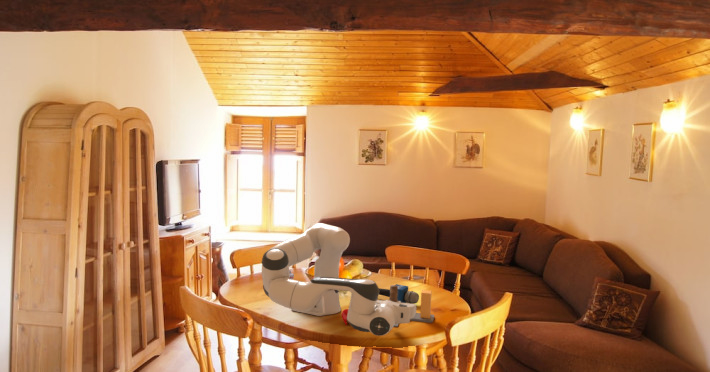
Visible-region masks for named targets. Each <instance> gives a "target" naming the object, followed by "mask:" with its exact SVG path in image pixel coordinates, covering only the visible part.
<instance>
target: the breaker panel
mask: <svg viewBox="0 0 710 372" xmlns="http://www.w3.org/2000/svg"><path fill="white" fill-rule="evenodd" d="M420 313H421V312H420ZM420 313H419V312H416V314H415V316H414V317H413V318H412V319H410V321H412V322H422V323H429V324H433V323H434V319H435V314H431V315H430V319H429V318H421V317H420Z"/></svg>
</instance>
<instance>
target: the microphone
mask: <svg viewBox="0 0 710 372" xmlns="http://www.w3.org/2000/svg"><path fill="white" fill-rule="evenodd" d="M395 285H396V286H398V290H397V301H401V303H409V304H415V305H416V304H417V303H418V302H419V300H420V295H419V294H418V292H415V291H413V290H411V291H410V290H409V286H408V285H402V284H395ZM378 288H379V287H378ZM379 290H380V292H379V296H383V297H388V298H389V299H388V300H390V288H388V289H387V288H379Z"/></svg>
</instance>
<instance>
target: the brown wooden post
mask: <svg viewBox="0 0 710 372" xmlns="http://www.w3.org/2000/svg"><path fill="white" fill-rule="evenodd" d="M389 287H390V288H389V290H390V297H389V299H390V301H392V302H397V290H398V286H396V284H391V285H390V286H389Z"/></svg>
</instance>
